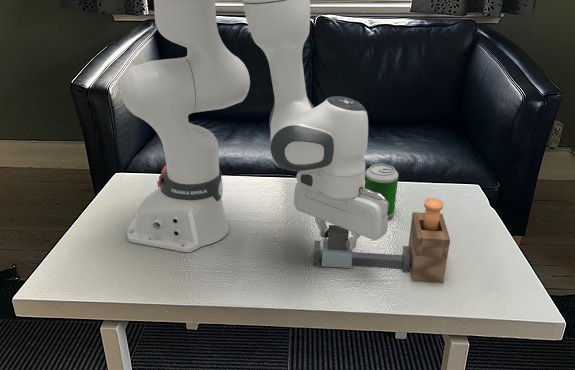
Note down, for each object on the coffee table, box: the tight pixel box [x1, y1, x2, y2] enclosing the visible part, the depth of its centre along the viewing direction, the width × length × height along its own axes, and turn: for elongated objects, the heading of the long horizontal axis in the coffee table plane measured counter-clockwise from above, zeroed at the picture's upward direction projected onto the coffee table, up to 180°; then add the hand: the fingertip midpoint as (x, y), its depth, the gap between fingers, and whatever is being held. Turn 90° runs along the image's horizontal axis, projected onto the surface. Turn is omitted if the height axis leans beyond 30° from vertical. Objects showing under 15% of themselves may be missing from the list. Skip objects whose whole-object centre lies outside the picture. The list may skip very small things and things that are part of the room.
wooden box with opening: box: [407, 211, 451, 284], centre depth 113 cm, size 6×10×10 cm, turn 174°
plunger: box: [423, 197, 445, 231], centre depth 110 cm, size 4×4×6 cm
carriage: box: [321, 224, 353, 269], centre depth 115 cm, size 6×5×8 cm
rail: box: [312, 240, 411, 273], centre depth 115 cm, size 19×4×4 cm, turn 84°
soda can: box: [364, 163, 399, 220], centre depth 132 cm, size 8×8×12 cm
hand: (337, 241), depth 114 cm, fingers closed on carriage, 5 cm apart
